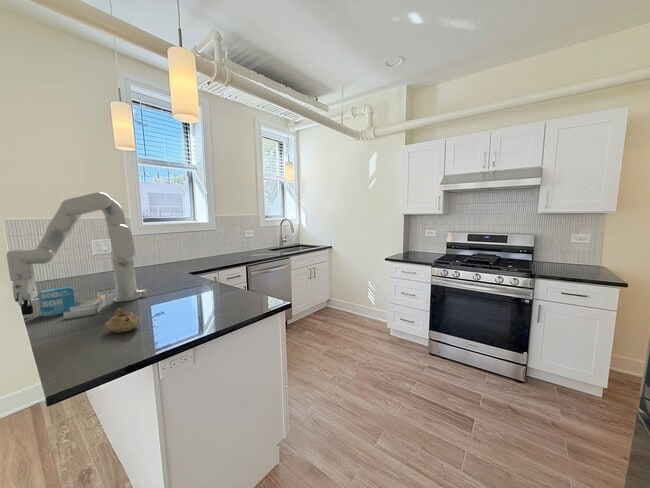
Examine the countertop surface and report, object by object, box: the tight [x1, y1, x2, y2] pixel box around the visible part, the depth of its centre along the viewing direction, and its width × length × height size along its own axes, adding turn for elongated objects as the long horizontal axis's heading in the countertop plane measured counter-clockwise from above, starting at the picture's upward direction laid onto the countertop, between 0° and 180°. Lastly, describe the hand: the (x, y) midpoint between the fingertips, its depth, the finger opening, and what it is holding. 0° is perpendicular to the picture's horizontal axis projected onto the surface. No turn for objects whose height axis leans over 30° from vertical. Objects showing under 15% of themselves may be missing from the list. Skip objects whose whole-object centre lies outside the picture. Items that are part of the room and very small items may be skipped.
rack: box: [62, 293, 107, 320], centre depth 134 cm, size 12×18×5 cm, turn 29°
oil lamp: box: [104, 307, 140, 334], centre depth 108 cm, size 11×15×8 cm
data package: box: [37, 286, 76, 317], centre depth 132 cm, size 12×4×12 cm, turn 138°
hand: (28, 313), depth 127 cm, fingers closed
